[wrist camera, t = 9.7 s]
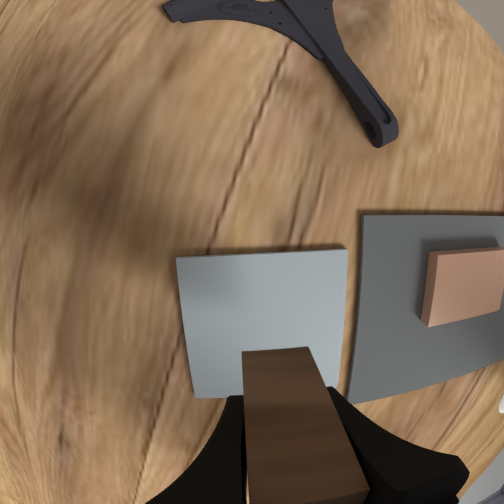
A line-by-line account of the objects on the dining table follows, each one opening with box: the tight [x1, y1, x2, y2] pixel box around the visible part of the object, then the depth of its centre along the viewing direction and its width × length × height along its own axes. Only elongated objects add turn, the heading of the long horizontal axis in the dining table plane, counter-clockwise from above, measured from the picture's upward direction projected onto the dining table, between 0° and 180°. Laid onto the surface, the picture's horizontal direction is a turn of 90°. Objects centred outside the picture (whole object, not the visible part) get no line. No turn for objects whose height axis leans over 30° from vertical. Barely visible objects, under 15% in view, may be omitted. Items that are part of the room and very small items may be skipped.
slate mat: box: [346, 214, 504, 404], centre depth 19 cm, size 14×18×1 cm
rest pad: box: [176, 248, 348, 398], centre depth 19 cm, size 10×10×1 cm
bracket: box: [162, 0, 399, 148], centre depth 15 cm, size 14×15×3 cm
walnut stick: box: [241, 346, 370, 504], centre depth 10 cm, size 3×3×8 cm
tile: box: [420, 247, 504, 327], centre depth 18 cm, size 1×8×5 cm
